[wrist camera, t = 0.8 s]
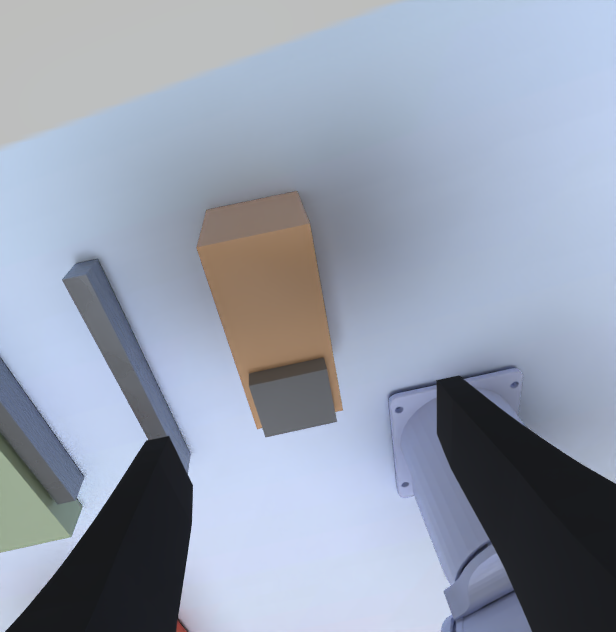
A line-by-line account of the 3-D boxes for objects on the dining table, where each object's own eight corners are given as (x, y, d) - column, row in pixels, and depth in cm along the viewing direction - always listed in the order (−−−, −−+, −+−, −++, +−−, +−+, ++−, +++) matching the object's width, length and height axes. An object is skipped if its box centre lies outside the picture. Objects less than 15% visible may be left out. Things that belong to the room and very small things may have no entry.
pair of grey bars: (190, 454, 26) (187, 476, 24) (67, 480, 26) (57, 504, 24) (97, 259, 19) (85, 274, 17) (-71, 294, 19) (-96, 312, 17)
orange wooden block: (326, 352, 23) (346, 423, 19) (255, 368, 23) (257, 442, 19) (296, 190, 19) (313, 231, 14) (206, 208, 18) (194, 256, 14)
